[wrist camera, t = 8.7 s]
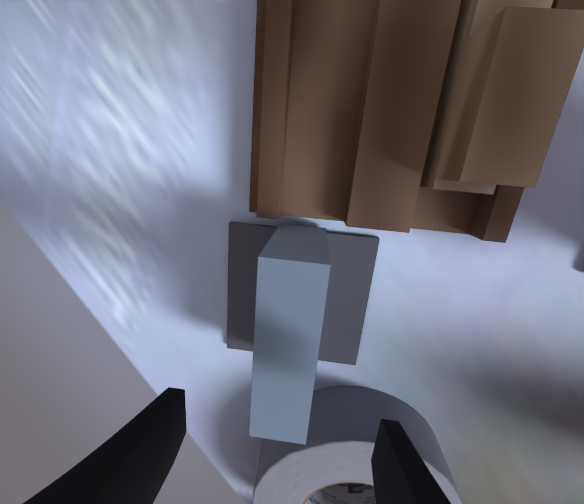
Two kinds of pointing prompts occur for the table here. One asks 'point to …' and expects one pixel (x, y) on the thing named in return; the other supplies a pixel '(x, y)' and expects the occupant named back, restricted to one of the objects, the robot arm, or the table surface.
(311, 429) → the tape roll
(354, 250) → the mat
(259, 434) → the blue-grey rectangular block
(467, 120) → the offcut short
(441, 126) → the block
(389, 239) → the table surface
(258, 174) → the rack
